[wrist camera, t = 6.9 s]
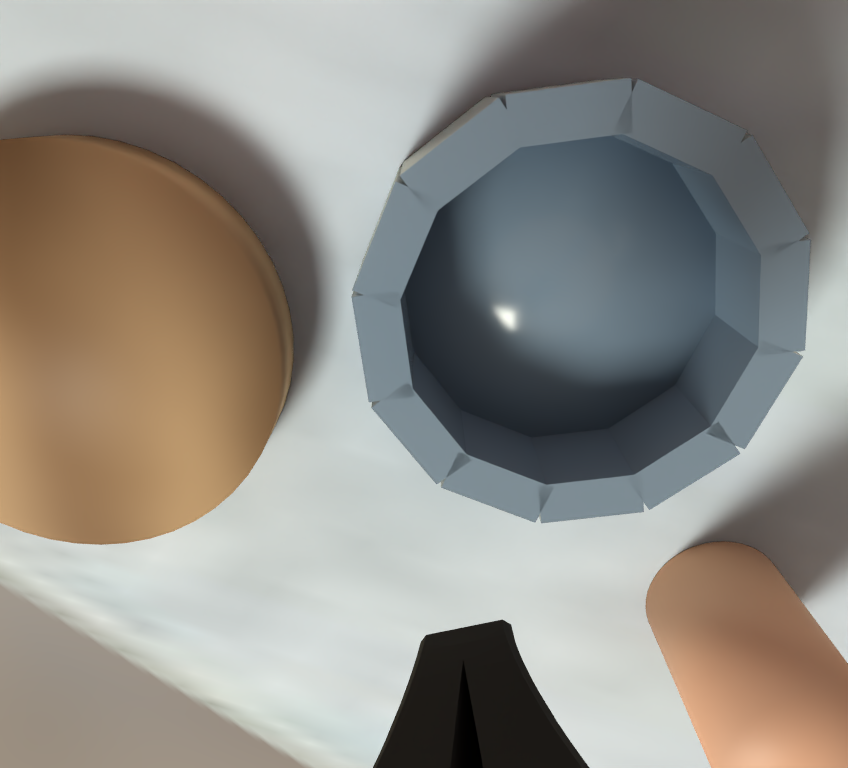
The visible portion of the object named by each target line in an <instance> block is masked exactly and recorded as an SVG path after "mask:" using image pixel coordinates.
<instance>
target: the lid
mask: <svg viewBox="0 0 848 768" xmlns="http://www.w3.org/2000/svg"><path fill="white" fill-rule="evenodd" d="M293 360H294V354H293V330H292V323H291V316H290V310H289V307H288V303H287V300H286V296H285V293H284V289H283V286H282V284H281V281H280V279H279V277H278V274H277V272H276V269H275V267H274V265H273V262H272V261H271V259H270V257H269V256H268V254H267V252H266V250H265V249H264V247H263V245H262V244H261V242H260V240H259V239H258V237H257V236H256V235H255V233H254V232H253V231H252V229H251V228H250V227H249V225H248V224H247V223H246V222H245V220H244V219H243V218H242V216H241V215H240V214H239V213H238V212H237V211H236V210H235V209H234V208H233V207H232V206H231V205H230V204H229V203H228V202H227V201H226V200H225V199H224V198H223V197H222V196H221V195H220V194H219V193H217V192H216V191H215V190H214V189H212V188H211V187H210V186H209V185H207V184H206V183H205V182H204V181H202V180H201V179H200V178H198V177H197V176H195V175H194V174H192V173H190V172H189V171H187V170H186V169H184V168H182V167H181V166H179V165H178V164H176V163H174V162H172V161H170V160H168V159H166V158H164V157H162V156H159V155H157V154H155V153H153V152H151V151H149V150H146V149H143V148H140V147H137V146H134V145H130V144H127V143H124V142H121V141H116V140H111V139H106V138H100V137H95V136H82V135H52V136H39V137H27V138H15V139H3V140H0V523H3V524H5V525H8V526H10V527H13V528H15V529H18V530H21V531H23V532H26V533H30V534H33V535H37V536H41V537H44V538H48V539H53V540H59V541H65V542H71V543H81V544H101V545H102V544H117V543H128V542H134V541H139V540H145V539H150V538H153V537H156V536H160V535H163V534H166V533H169V532H172V531H175V530H177V529H179V528H181V527H183V526H185V525H187V524H190V523H192V522H194V521H196V520H197V519H199V518H200V517H202V516H203V515H205V514H207V513H208V512H210V511H211V510H213V509H214V508H216V507H217V506H218V505H219V504H220V503H221V502H223V501H224V500H225V499H226V498H227V497H228V496H229V495H231V494H232V493H233V492H234V491H235V489H236V488H237V487H238V486H239V485H240V484H241V482H242V481H243V480H244V479H245V478H246V477H247V476H248V474H249V473H250V471H251V469H252V468H253V466H254V465H255V463H256V462H257V460H258V458H259V457H260V455H261V453H262V451H263V449H264V447H265V445H266V443H267V441H268V439H269V437H270V435H271V433H272V431H273V429H274V427H275V424H276V422H277V420H278V418H279V416H280V413H281V411H282V409H283V407H284V404H285V401H286V397H287V393H288V390H289V386H290V383H291V375H292V368H293Z"/></svg>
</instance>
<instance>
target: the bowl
mask: <svg viewBox="0 0 848 768" xmlns="http://www.w3.org/2000/svg"><path fill="white" fill-rule="evenodd" d="M746 132H747V130H746V129H744V128H742V127H739V126H737V125H735V124H733V123H731V122H729V121H727V120H725V119H723V118H720V117H718V116H716V115H714V114H712V113H710V112H708V111H706V110H703V109H701V108H699V107H697V106H695V105H693V104H691V103H689V102H687V101H684V100H682V99H680V98H678V97H676V96H674V95H672V94H670V93H667V92H665V91H663V90H661V89H659V88H657V87H655V86H653V85H651V84H648V83H646V82H644V81H642V80H640V79H631V78H620V79H606V80H593V81H586V82H578V83H571V84H563V85H556V86H549V87H541V88H534V89H526V90H519V91H511V92H504V93H496V94H491V97H484V98H483V99H482V100H481V101H479V102H478V103H477V104H476V105H474V106H473V107H472V108H471V109H469V110H468V111H467V112H466V113H464V114H463V115H462V116H461V117H459V118H458V119H457V120H455V121H454V122H453V123H452V124H450V125H449V126H448V127H447V128H445V129H444V130H443V131H442V132H440V133H439V134H438V135H437V136H435V137H434V138H433V139H432V140H430V141H429V142H428V143H427V144H425V145H424V146H423V147H421V148H420V149H419V150H418V151H416V152H415V153H414V154H413V155H411V156H410V157H409V158H408V159H406V160H405V161H404V162H403V165H402V168H401V167H399V170H398V172H397V175H396V177H395V180H394V182H393V185H392V187H391V190H390V192H389V195H388V198H387V200H386V203H385V205H384V208H383V210H382V213H381V215H380V218H379V220H378V223H377V225H376V228H375V230H374V233H373V236H372V238H371V241H370V243H369V246H368V248H367V251H366V253H365V256H364V258H363V261H362V264H361V267H360V270H359V273H358V275H357V278H356V281H355V284H354V287H353V294H352V302H353V308H354V314H355V320H356V327H357V333H358V339H359V345H360V351H361V357H362V363H363V369H364V375H365V382H366V388H367V394H368V400H369V402H372V407H371V408H372V409H373V410H374V411H375V412H376V414H377V415H378V416H379V417H380V418H381V419H382V421H383V422H384V423H385V424H386V425H387V427H388V428H389V429H390V430H391V431H392V432H393V434H394V435H395V436H396V437H397V438H398V439H399V441H400V442H401V443H402V444H403V445H404V447H405V448H406V449H407V450H408V451H409V452H410V454H411V455H412V456H413V457H414V458H415V460H416V461H417V462H418V463H419V464H420V465H421V467H422V468H423V469H424V470H425V471H426V472H427V474H428V475H429V476H430V477H431V478H432V480H433V481H434V482H435V483H436V484H438V483H439V482H441V488H444V489H446V490H449V491H452V492H454V493H457V494H460V495H463V496H465V497H468V498H471V499H473V500H476V501H479V502H481V503H484V504H487V505H489V506H492V507H495V508H497V509H500V510H503V511H505V512H508V513H511V514H514V515H516V516H519V517H522V518H524V519H527V520H530V521H532V522H536V520H537V518H538V517H539V518H540V521H541V523H548V522H557V521H566V520H575V519H584V518H593V517H602V516H611V515H620V514H629V513H638V512H644V506H643V502H644V503H645V505H646V506H647V507H648V509H649V510H650V509H652V508H653V507H655V506H657V505H658V504H660V503H661V502H663V501H665V500H666V499H668V498H669V497H671V496H673V495H674V494H676V493H678V492H679V491H681V490H682V489H684V488H686V487H687V486H689V485H690V484H692V483H694V482H695V481H697V480H699V479H700V478H702V477H703V476H705V475H707V474H708V473H710V472H711V471H713V470H715V469H716V468H718V467H720V466H721V465H723V464H724V463H726V462H728V461H729V460H731V459H732V458H734V457H736V456H737V455H739V454H740V452H739V451H738V449H737V448H736V447H735V445H736V446H738V447H741V448H743V449H745V448H746V447H747V445H748V443H749V442H750V440H751V439H752V437H753V435H754V434H755V432H756V431H757V429H758V427H759V426H760V424H761V423H762V421H763V419H764V418H765V416H766V415H767V413H768V411H769V410H770V408H771V407H772V405H773V404H774V402H775V400H776V399H777V397H778V396H779V394H780V392H781V391H782V389H783V388H784V386H785V384H786V383H787V381H788V380H789V378H790V376H791V375H792V373H793V372H794V370H795V368H796V367H797V365H798V364H799V362H800V360H801V359H802V357H803V356H802V355H800V354H799V353H797V352H796V351H804V350H805V340H806V321H807V302H808V283H809V264H810V244H811V240H810V239H808V238H805V236H806V235H808V234H809V232H808V230H807V228H806V227H805V225H804V223H803V222H802V220H801V218H800V216H799V215H798V213H797V211H796V209H795V208H794V206H793V204H792V203H791V201H790V199H789V197H788V196H787V194H786V192H785V190H784V189H783V187H782V185H781V183H780V182H779V180H778V178H777V177H776V175H775V173H774V171H773V170H772V168H771V166H770V164H769V163H768V161H767V159H766V158H765V156H764V154H763V152H762V151H761V149H760V147H759V145H758V144H757V142H756V140H755V139H754V137H753V135H749V134H746Z"/></svg>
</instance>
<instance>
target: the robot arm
mask: <svg viewBox="0 0 848 768" xmlns="http://www.w3.org/2000/svg"><path fill="white" fill-rule="evenodd" d="M373 768H589V767H588V765H587V764H586V763H585V761H584V760H583V759H582V757H581V756H580V754H579V753H578V752H577V750H576V749H575V747H574V746H573V745H572V743H571V742H570V740H569V739H568V737H567V736H566V735H565V733H564V731H563V730H562V728H561V727H560V725H559V724H558V722H557V721H556V719H555V718H554V716H553V714H552V713H551V711H550V709H549V708H548V706H547V705H546V703H545V701H544V700H543V698H542V696H541V695H540V693H539V691H538V689H537V688H536V686H535V684H534V682H533V680H532V679H531V677H530V675H529V673H528V670H527V668H526V666H525V664H524V662H523V660H522V658H521V656H520V653H519V651H518V648H517V646H516V643H515V639H514V635H513V631H512V627H511V624H509V623H507V622H506V621H504V620H499V621H494V622H489V623H484V624H479V625H474V626H469V627H464V628H459V629H454V630H449V631H444V632H439V633H434V634H429V635H426V636H425V637H424V639H423V640H422V641H421V643H420V647H419V651H418V654H417V658H416V661H415V664H414V667H413V670H412V673H411V676H410V679H409V682H408V685H407V688H406V690H405V693H404V696H403V699H402V701H401V704H400V706H399V709H398V711H397V714H396V716H395V719H394V721H393V724H392V726H391V728H390V731H389V733H388V736H387V738H386V741H385V743H384V745H383V747H382V750H381V752H380V754H379V756H378V758H377V760H376V762H375V764H374V767H373Z"/></svg>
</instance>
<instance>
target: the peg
mask: <svg viewBox="0 0 848 768" xmlns="http://www.w3.org/2000/svg"><path fill="white" fill-rule="evenodd" d="M646 614H647V618H648V621H649V624H650V626H651V628H652V631H653V633H654V635H655V638H656V640H657V642H658V645H659V647H660V649H661V652H662V654H663V656H664V659H665V661H666V663H667V666H668V668H669V670H670V673H671V675H672V677H673V680H674V682H675V684H676V687H677V689H678V691H679V694H680V696H681V698H682V700H683V703H684V705H685V707H686V710H687V712H688V714H689V717H690V719H691V721H692V724H693V726H694V728H695V731H696V733H697V735H698V738H699V740H700V742H701V745H702V747H703V749H704V752H705V754H706V756H707V759H708V761H709V763H710V766H711V768H848V663H847V662H846V661H845V659H844V658H843V657H842V655H841V654H840V653H839V651H838V650H837V648H836V647H835V646H834V644H833V643H832V642H831V640H830V639H829V638H828V636H827V635H826V634H825V632H824V631H823V630H822V628H821V627H820V626H819V624H818V623H817V622H816V620H815V619H814V618H813V616H812V615H811V614H810V612H809V611H808V610H807V608H806V607H805V606H804V604H803V603H802V602H801V600H800V599H799V598H798V596H797V595H796V594H795V592H794V591H793V590H792V588H791V587H790V586H789V584H788V583H787V582H786V580H785V579H784V578H783V576H782V575H781V574H780V572H779V571H778V570H777V568H776V567H775V565H774V564H773V563H772V562H771V561H770V559H769V558H767V557H766V556H765V555H764V554H763V553H761V552H760V551H758V550H757V549H754V548H752V547H750V546H747V545H744V544H741V543H735V542H725V541H721V542H710V543H705V544H701V545H697V546H694V547H692V548H689V549H687V550H685V551H683V552H681V553H679V554H678V555H676V556H675V557H673V558H672V559H671V560H669V561H668V562H667V563H666V564H665V565H664V566H663V567H662V568H661V569H660V570H659V571H658V573H657V574H656V576H655V577H654V579H653V581H652V582H651V584H650V587H649V590H648V592H647V597H646Z"/></svg>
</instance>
